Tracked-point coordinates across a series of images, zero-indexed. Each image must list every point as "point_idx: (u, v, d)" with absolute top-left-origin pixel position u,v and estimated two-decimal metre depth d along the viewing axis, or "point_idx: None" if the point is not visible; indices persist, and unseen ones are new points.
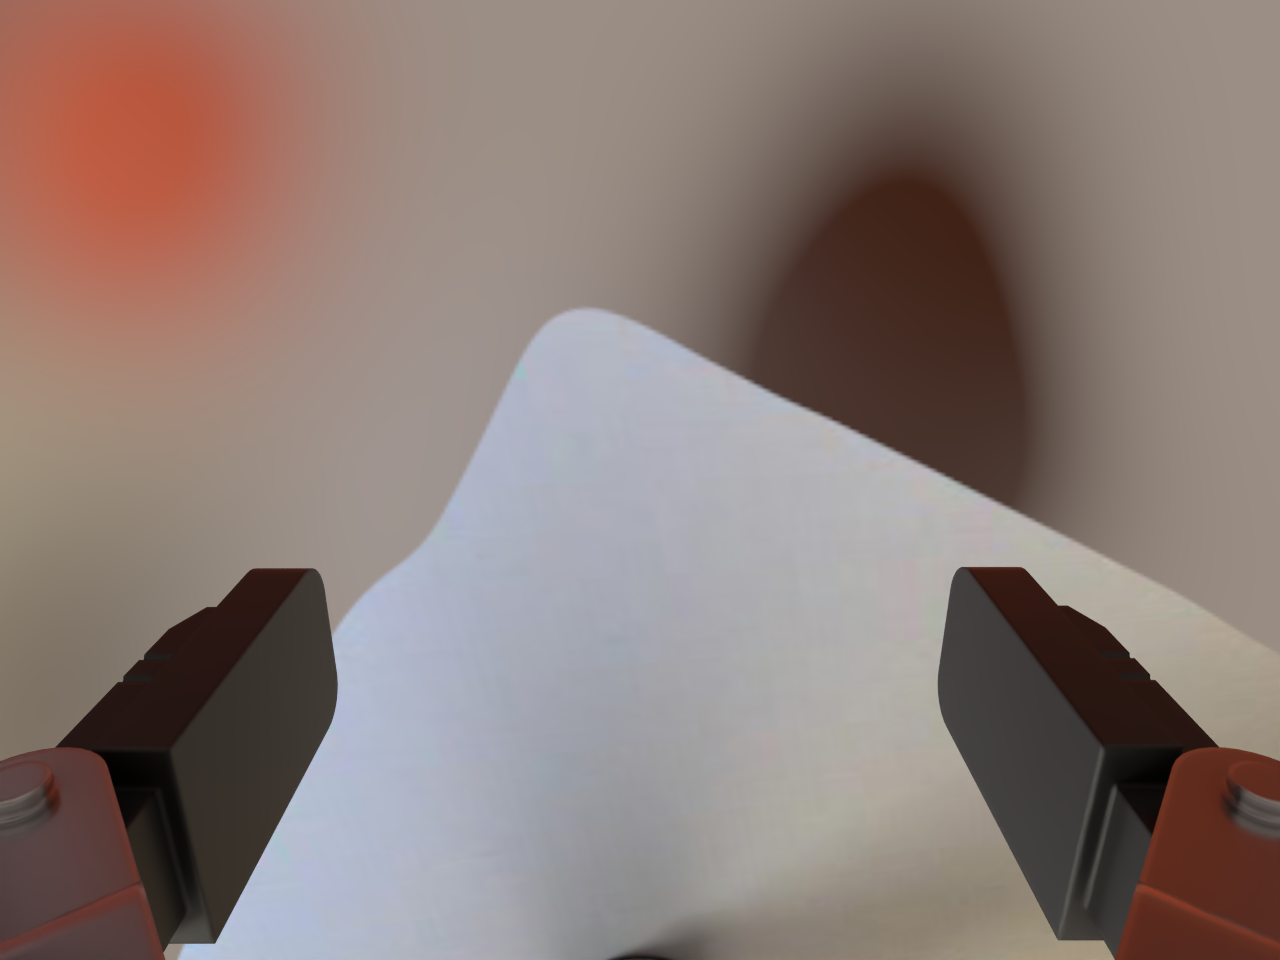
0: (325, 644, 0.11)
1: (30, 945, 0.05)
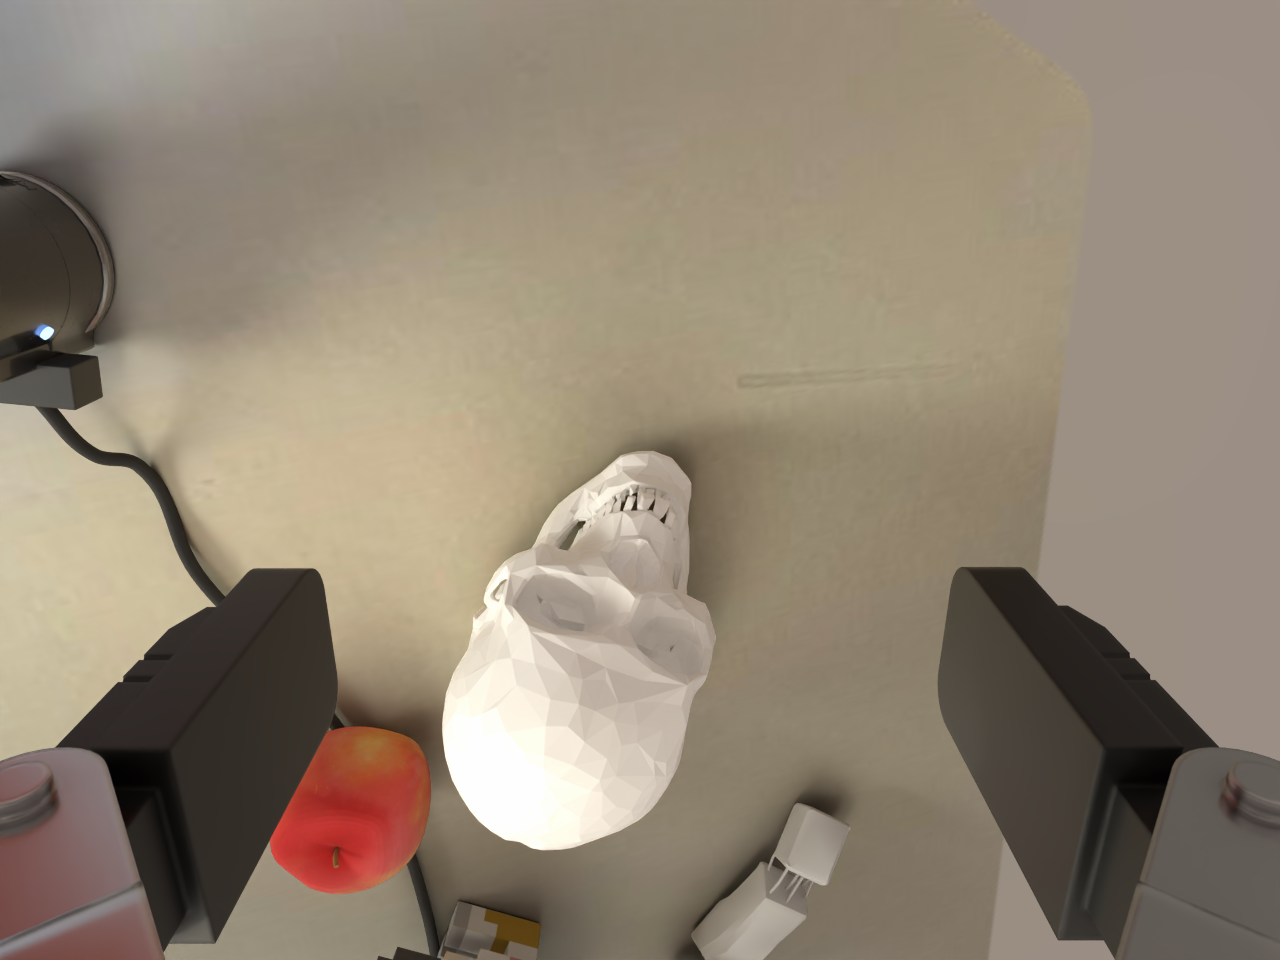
0: (325, 644, 0.11)
1: (31, 945, 0.05)
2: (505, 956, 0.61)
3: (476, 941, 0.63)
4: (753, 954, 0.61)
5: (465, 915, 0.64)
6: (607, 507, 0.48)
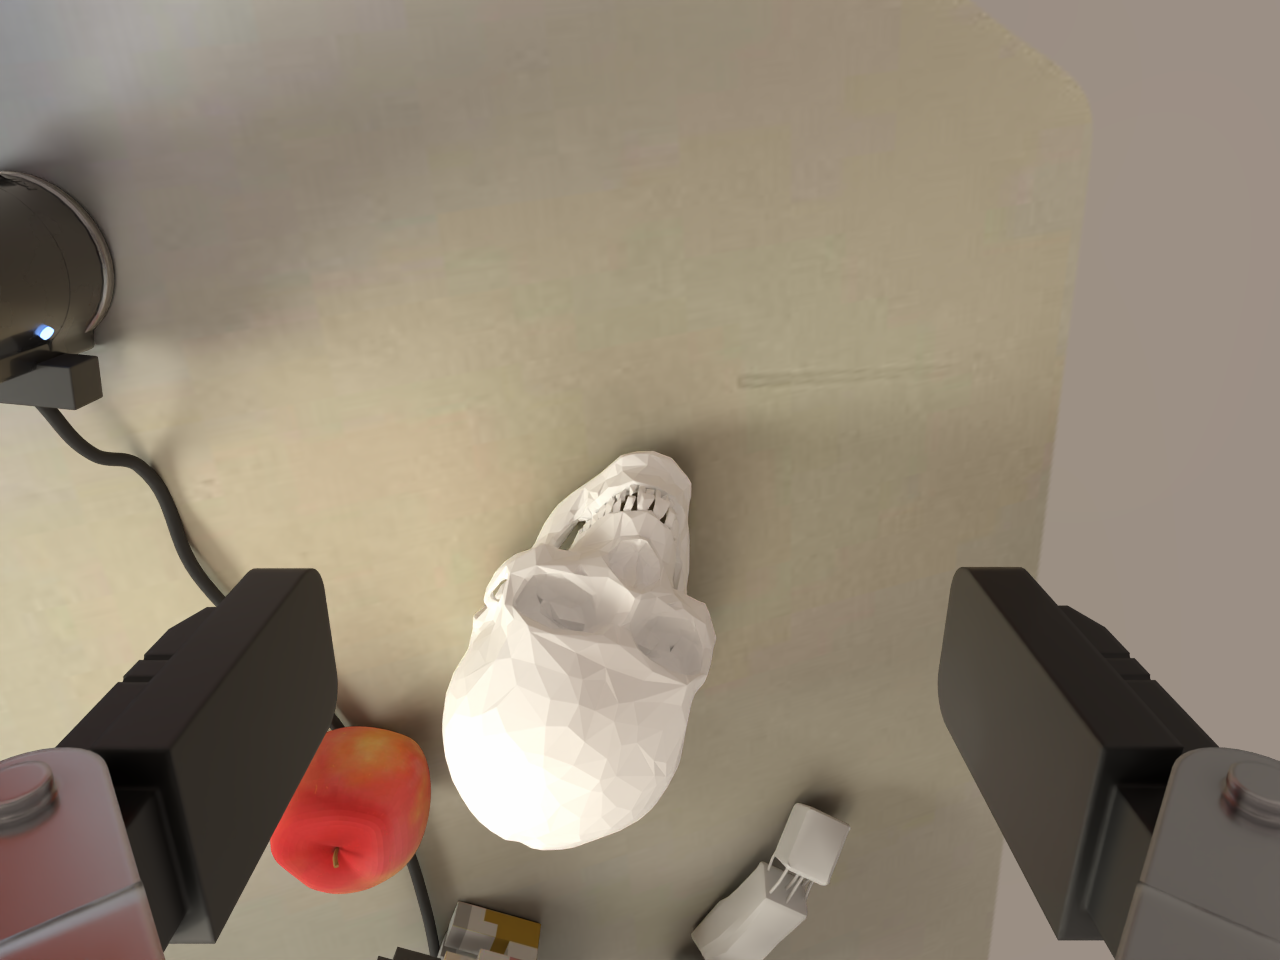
0: (325, 644, 0.11)
1: (31, 945, 0.05)
2: (505, 956, 0.61)
3: (476, 941, 0.63)
4: (753, 954, 0.61)
5: (465, 915, 0.64)
6: (607, 507, 0.48)
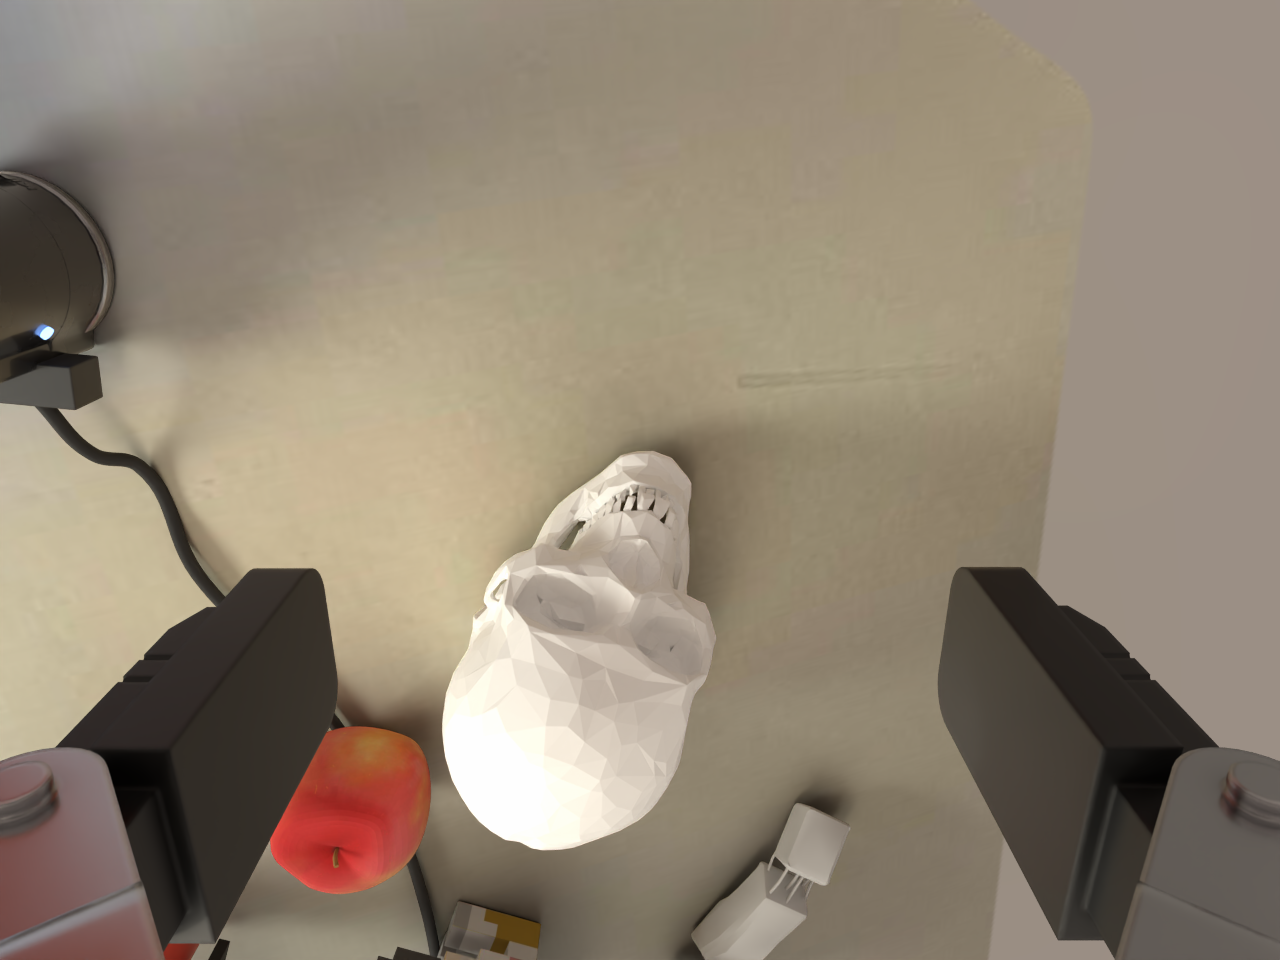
0: (325, 644, 0.11)
1: (31, 945, 0.05)
2: (505, 956, 0.61)
3: (476, 941, 0.63)
4: (753, 954, 0.61)
5: (465, 915, 0.64)
6: (607, 507, 0.48)
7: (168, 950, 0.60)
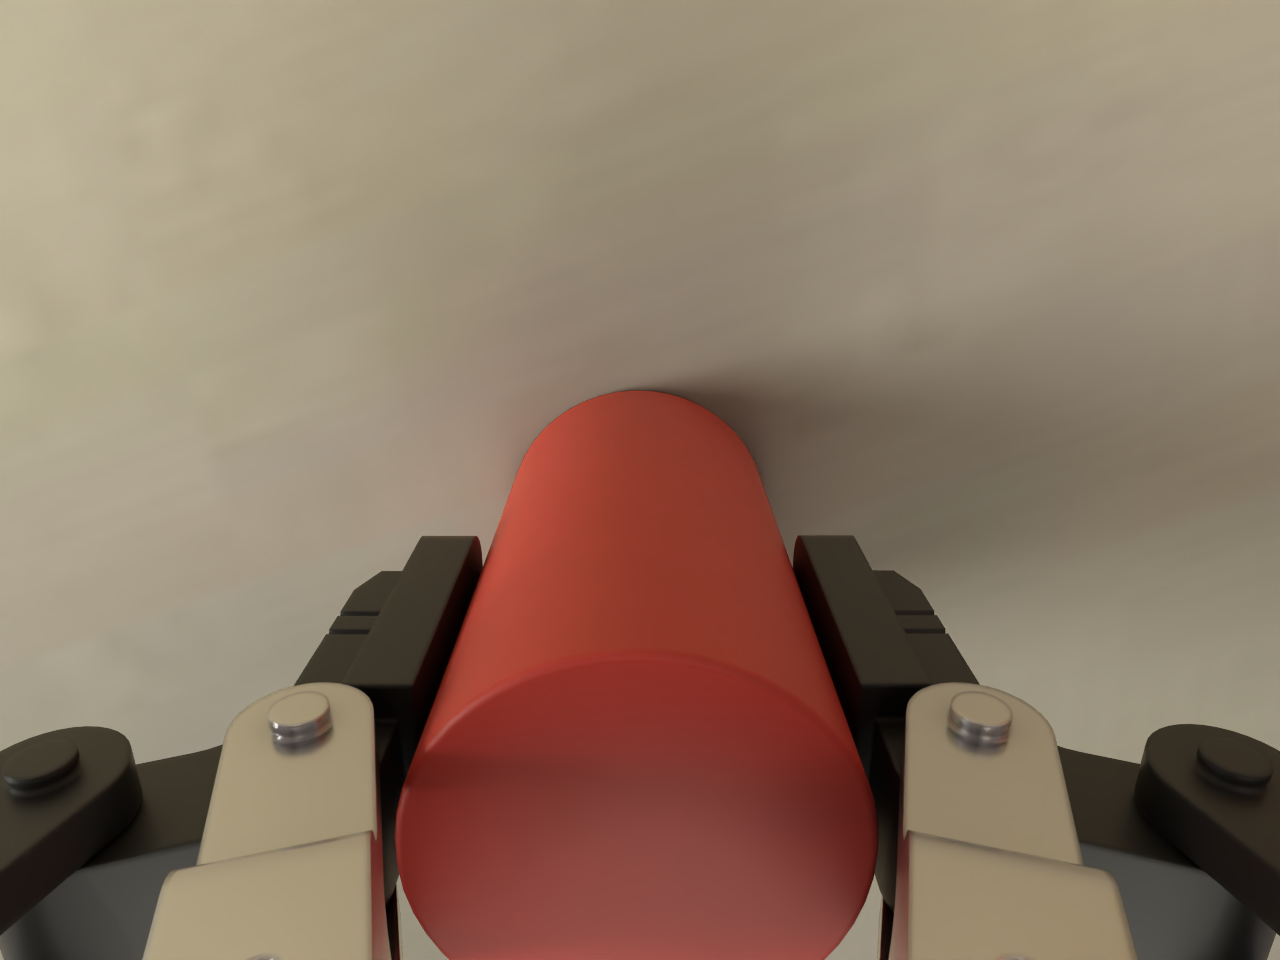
0: None
1: (272, 867, 0.05)
2: None
3: None
4: None
5: None
6: None
7: (772, 568, 0.10)
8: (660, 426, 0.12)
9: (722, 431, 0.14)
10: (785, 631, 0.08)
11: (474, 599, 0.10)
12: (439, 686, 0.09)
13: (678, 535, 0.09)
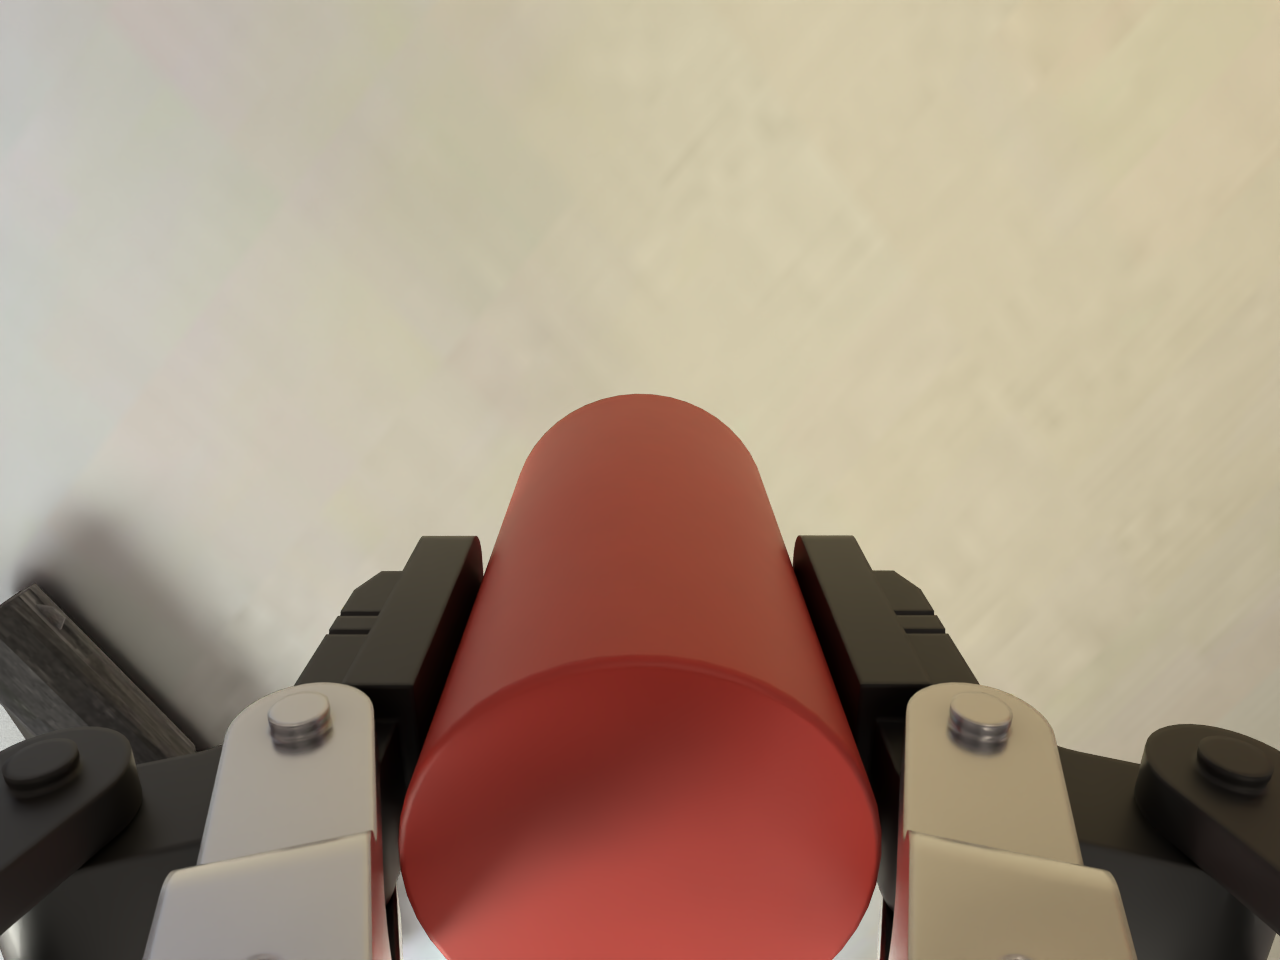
0: None
1: (272, 866, 0.05)
2: None
3: None
4: None
5: None
6: None
7: (775, 573, 0.10)
8: (662, 430, 0.12)
9: (724, 434, 0.14)
10: (788, 636, 0.08)
11: (477, 604, 0.10)
12: (442, 691, 0.09)
13: (679, 540, 0.09)
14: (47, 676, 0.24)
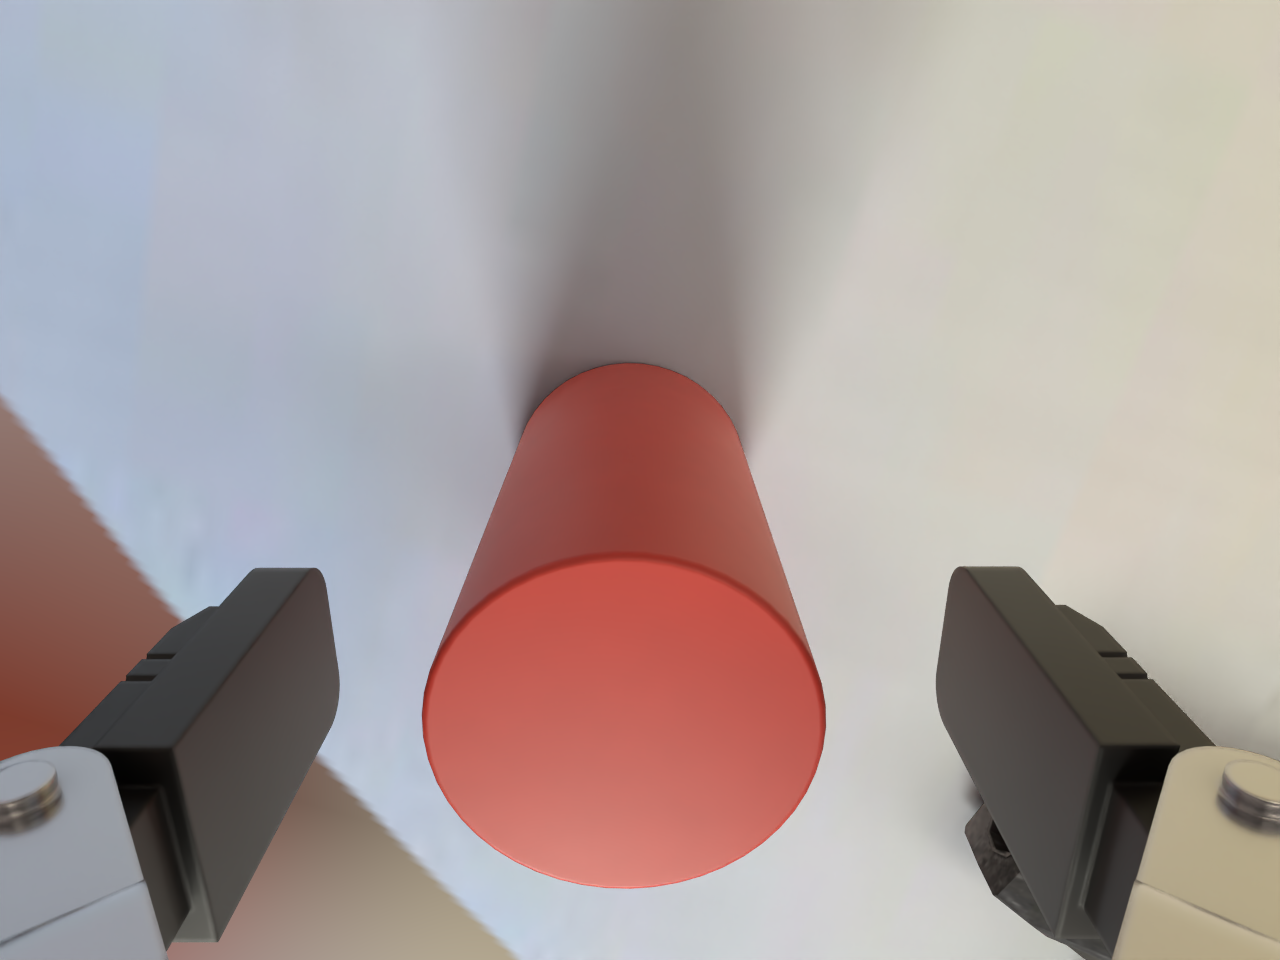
0: (327, 643, 0.11)
1: (33, 944, 0.05)
2: None
3: None
4: None
5: None
6: None
7: (743, 505, 0.11)
8: (649, 391, 0.14)
9: (705, 399, 0.15)
10: (750, 549, 0.10)
11: (486, 532, 0.11)
12: (457, 600, 0.10)
13: (660, 473, 0.11)
14: None
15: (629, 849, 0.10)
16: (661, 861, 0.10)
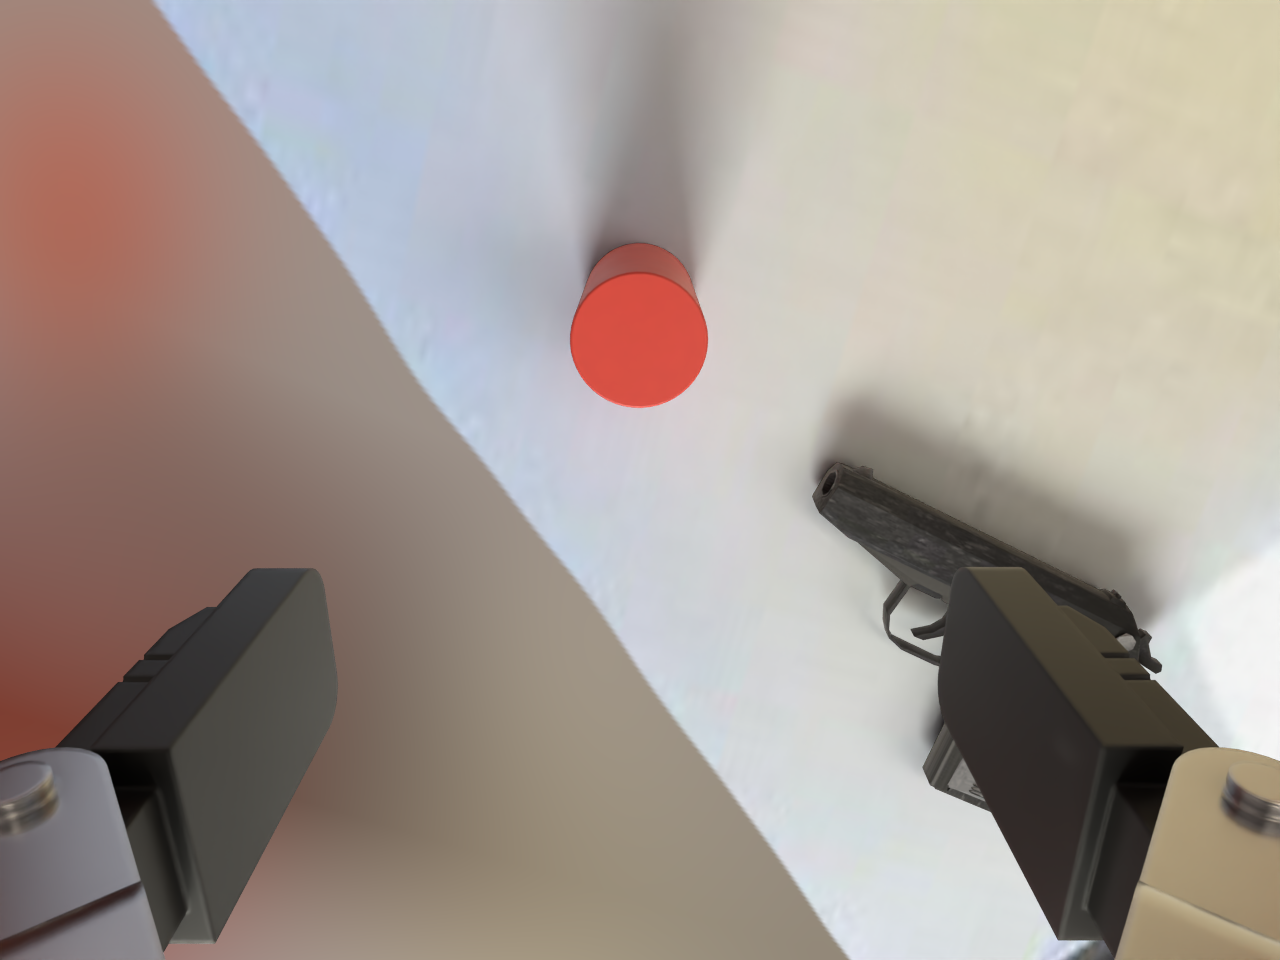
0: (325, 644, 0.11)
1: (30, 945, 0.05)
2: None
3: None
4: None
5: None
6: None
7: (683, 278, 0.29)
8: (648, 249, 0.32)
9: (673, 257, 0.33)
10: (683, 283, 0.27)
11: (584, 291, 0.29)
12: (577, 308, 0.28)
13: (651, 263, 0.28)
14: (886, 508, 0.35)
15: (640, 389, 0.27)
16: (652, 395, 0.28)
